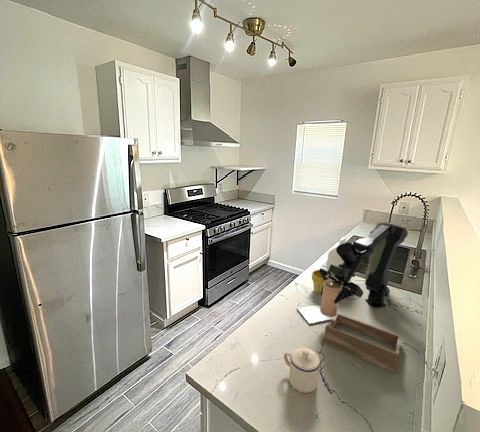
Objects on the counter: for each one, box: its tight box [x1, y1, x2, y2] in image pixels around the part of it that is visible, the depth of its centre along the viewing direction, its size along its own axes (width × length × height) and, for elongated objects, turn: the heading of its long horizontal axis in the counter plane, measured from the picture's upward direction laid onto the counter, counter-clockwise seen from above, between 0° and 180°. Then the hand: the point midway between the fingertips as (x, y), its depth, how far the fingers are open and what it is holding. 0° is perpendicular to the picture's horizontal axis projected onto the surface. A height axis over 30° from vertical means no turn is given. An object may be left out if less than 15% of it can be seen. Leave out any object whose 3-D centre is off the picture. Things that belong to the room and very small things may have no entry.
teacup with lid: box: [283, 346, 321, 394], centre depth 83 cm, size 12×9×12 cm
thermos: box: [364, 222, 386, 286], centre depth 139 cm, size 9×12×35 cm
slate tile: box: [296, 304, 333, 326], centre depth 116 cm, size 11×11×1 cm
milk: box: [325, 236, 352, 290], centre depth 142 cm, size 12×12×26 cm
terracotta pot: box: [320, 280, 342, 318], centre depth 106 cm, size 7×7×13 cm
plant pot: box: [311, 269, 323, 295], centre depth 135 cm, size 10×10×10 cm
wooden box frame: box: [323, 312, 402, 374], centre depth 99 cm, size 16×24×7 cm, turn 55°
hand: (327, 298), depth 105 cm, fingers closed on terracotta pot, 6 cm apart
